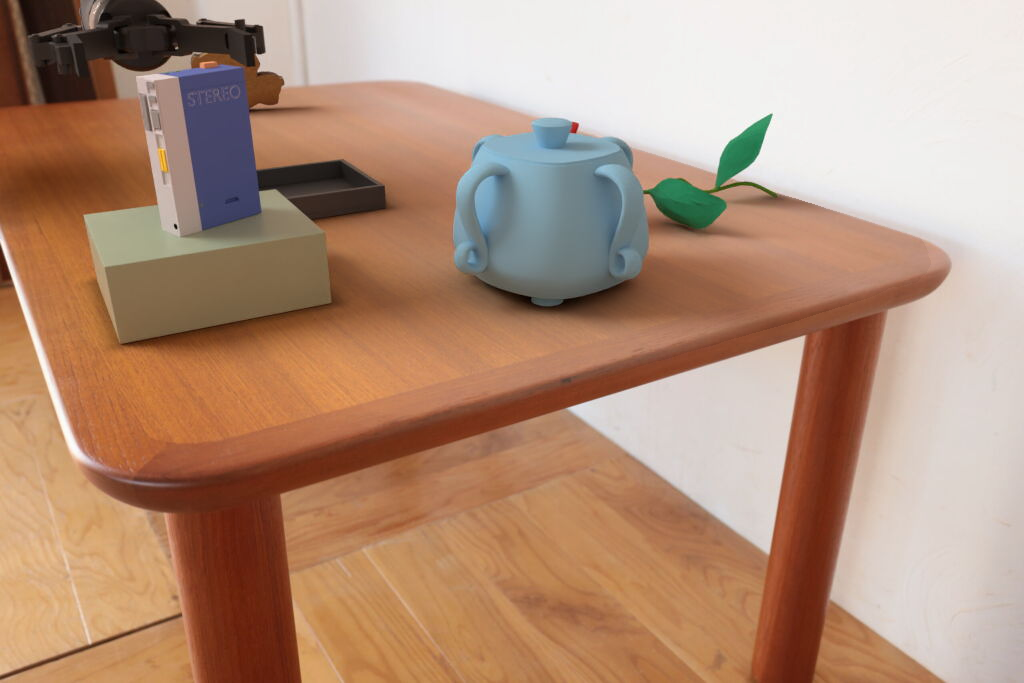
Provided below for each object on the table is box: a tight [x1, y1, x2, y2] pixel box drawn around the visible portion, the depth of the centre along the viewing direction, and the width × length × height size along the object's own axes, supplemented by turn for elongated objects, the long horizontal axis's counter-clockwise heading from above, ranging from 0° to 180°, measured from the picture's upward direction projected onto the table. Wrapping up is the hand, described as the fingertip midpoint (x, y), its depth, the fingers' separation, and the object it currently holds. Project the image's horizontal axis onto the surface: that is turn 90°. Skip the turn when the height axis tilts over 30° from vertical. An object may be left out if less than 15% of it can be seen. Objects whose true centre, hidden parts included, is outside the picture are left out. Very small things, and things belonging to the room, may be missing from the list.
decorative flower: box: [570, 113, 778, 230], centre depth 90 cm, size 14×30×10 cm, turn 104°
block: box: [83, 189, 332, 345], centre depth 73 cm, size 14×16×6 cm
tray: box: [256, 158, 387, 220], centre depth 98 cm, size 13×13×2 cm
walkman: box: [135, 61, 262, 237], centre depth 69 cm, size 8×3×12 cm, turn 143°
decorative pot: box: [452, 117, 650, 307], centre depth 74 cm, size 16×16×14 cm
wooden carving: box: [190, 53, 285, 110], centre depth 142 cm, size 16×5×10 cm, turn 114°
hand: (168, 55), depth 76 cm, fingers open, 13 cm apart
